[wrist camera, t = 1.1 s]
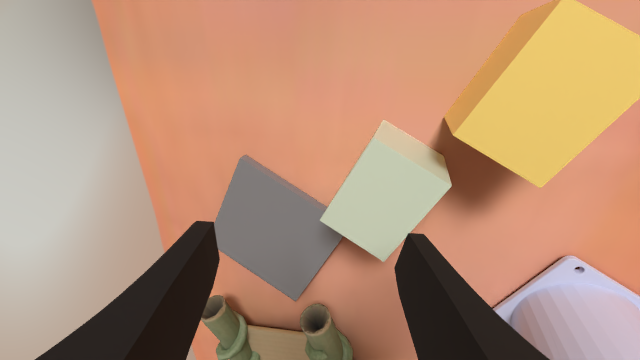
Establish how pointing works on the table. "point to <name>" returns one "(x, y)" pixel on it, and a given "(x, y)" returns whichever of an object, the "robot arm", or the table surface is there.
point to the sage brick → (387, 191)
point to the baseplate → (273, 228)
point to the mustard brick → (549, 89)
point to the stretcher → (275, 336)
